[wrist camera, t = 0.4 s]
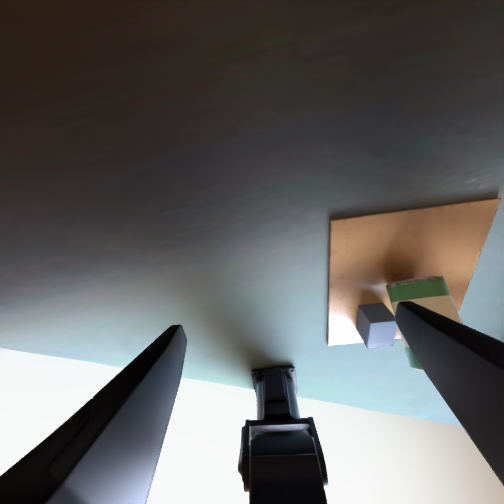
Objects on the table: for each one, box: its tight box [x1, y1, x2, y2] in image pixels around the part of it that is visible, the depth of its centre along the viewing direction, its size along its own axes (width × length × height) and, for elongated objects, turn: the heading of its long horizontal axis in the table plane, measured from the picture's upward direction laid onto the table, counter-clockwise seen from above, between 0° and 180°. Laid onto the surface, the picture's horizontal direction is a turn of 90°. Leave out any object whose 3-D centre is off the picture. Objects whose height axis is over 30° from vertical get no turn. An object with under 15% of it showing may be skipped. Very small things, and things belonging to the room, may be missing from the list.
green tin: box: [386, 276, 463, 371], centre depth 21 cm, size 9×5×9 cm, turn 8°
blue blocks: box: [356, 303, 397, 348], centre depth 25 cm, size 4×9×3 cm, turn 98°
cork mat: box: [327, 198, 501, 346], centre depth 25 cm, size 18×16×1 cm
